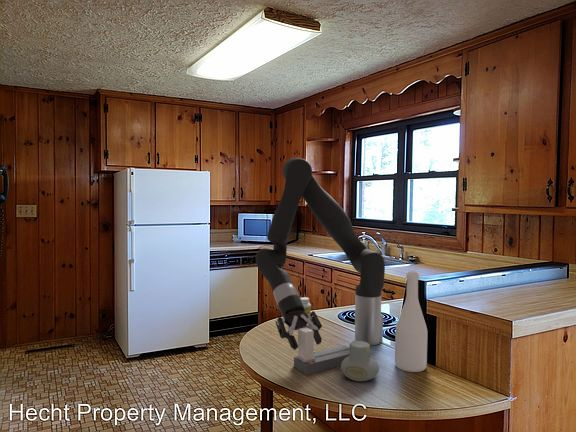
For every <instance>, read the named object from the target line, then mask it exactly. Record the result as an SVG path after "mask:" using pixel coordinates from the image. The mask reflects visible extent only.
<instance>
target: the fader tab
mask: <svg viewBox="0 0 576 432" xmlns="http://www.w3.org/2000/svg"><path fill="white" fill-rule="evenodd" d="M314 342H315V340H314V331H313V330H311V329H309V328H307V327H305V328H300V329H298V330H297V344H298V348H297V354H296V355H295V357H296V358H298V359H299V360H301V361H303V362H304V363H306V362H310V361H314V360H316V358H314V357H313V352H314Z"/></svg>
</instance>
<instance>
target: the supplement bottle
mask: <svg viewBox="0 0 576 432" xmlns="http://www.w3.org/2000/svg"><path fill="white" fill-rule="evenodd" d="M300 299H301V301H302V304H303V306H304V310H305V312H306V313H307V314H309V313H311V312H312V304H311V303H310V297H306V296H305V297H300ZM308 319H309V318H308ZM310 321H311V320H310Z"/></svg>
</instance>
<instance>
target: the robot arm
mask: <svg viewBox="0 0 576 432" xmlns="http://www.w3.org/2000/svg"><path fill="white" fill-rule="evenodd" d="M282 176H283V178H284V179H285V182H284V185H283V186H284V187H283V191H282V196H281V198H280V201H279V203H278V205H277V208H276V209H275V211H274V214H273V216H272V219H271V221H270V225H269V228H268V231H267V235H266V239H267V241H268V242H270V243H271V244H273V247H272V248H273V249H271V248H270V249H269V248H261V249H259V250H258V251H257V252H256V254H255V264H256V266H257V268H258V270H259V272H260V273H261V274H262V275H263V277H264V279H265V280H267V282H268V284H269V286H270V288H271V290H272V291H271V292H272V293H273V296H274V299H275V302H276V305H277V307H278V310H279V311H280V312H279V313H280V314H281V316H279V317H277V319H276V320H275V325H276V328H277V332H278V334H279V337H280V338H281V339H286V340H287V342H288V344H289V346H290V348H291V349H293V351H295V350H298V341H297V339H296V337H295V335H294V331H298V329H300V328H305V327H307V328H309V329H311V330H313V331H314V342H315V343H316V344H315V345H317V346H318V345H320V344H321V343H322V341H323V339H322V336H321V334H320V332H319V331H320V330H321V328H322V327H323V324H322V323H321V321H320V319H319V318H318V315H317V313H316V312H315V311H314V310H313V311H312V310H311V313H309V314H307V313H306V312H305V310H304V306H303V304H302V301H301V299H300V298H301V297H300V295H299V293H298V290H297V289H296V287H295V285H294V284H293V282H292V279H291V277H290V275H289V273H288V272H287V271H286V270H285V269H282V268H283V267H284V265H285V264H286V261H287V251H288V250H287V249H288V247H287V246H288V238H289V235H290V232H291V229H292V225H293V223H294V219H295V217H296V212H297V210H298V206H299V205H300V204H299V203H300V201H301V199H302V198H303V200H304V201H305V202H306V204H307V206H308V208H309V210H310V212H312V214H313V215H314V217H315V218H316V220H317V221H318V222H319V223H320V225H321V226H322V228H323V229H324V230H325V231H326V233H327V234H328V235H330V237H331V238H332V239H333V241H335V243H336V244H337V245H338V246H339V247H340V249H342V251H343V252H344V254H345V255H346V257H347V259H348V260H349V262H350V263H351V265H352V267H353V269H354V270H355V271H356V272H357V273H359V274H360V279H359V284H357V285H356V286H355V290H354V291H355V296H354V297H355V300H354V301H355V302H354V303H355V304H354V305H355V306H354V309H355V310H354V341H364V342H367V343H369V345H370V346H377V345H379V344H381V342H383V337H384V336H383V334H384V329H383V328H384V315H382V290H383V289H384V286H385V270H386V268H385V266H386V264H385V258H384V257H383V255H382V254H381V253H379V252H377V251H374V250H372V249H369V248H368V247H367V246H366V245H365V244H364V243H363V242H362V241H361V239H360V238H359V237H358V236H357V234H356V231H355V229H354V227H353V224H352V221H351V219H350V217H349V215H348V214H347V213H346V212H345V210H344V208H342V206H341V205H340V204H339V203H338V202H337V201H336V200H335V199H334V197H332V196H331V195H330V194H329V193H328V192H327V191H326V190H325V189H323V187H322V186H321V185H320V184H319V183H318V181H317V180H316V178H315V177H314V175H313V169H312V165H311V164H310V162H309V161H308V160H306V159H304V158H300V157H291V158H288V159H287V160H286V161H285V162H284V164H283V166H282ZM308 318H309V319H308ZM310 320H311V321H310ZM285 325H287V326H288V327H287V329H286V326H285Z"/></svg>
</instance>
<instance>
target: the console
mask: <svg viewBox="0 0 576 432" xmlns="http://www.w3.org/2000/svg"><path fill="white" fill-rule="evenodd" d="M348 356H350V346H347V345H345V344H344V345H339V346H335V347H331V348H327V349H322V350H317V351H315V352H314V351H313V357H314V358H316V360H314V361H310V362H306V363H304V362H303V361H301V360H299V359H298V358H296V356H294V357H293V368H295V369H297V370H298V371H300V372H301V373H303V374H305V375H306V376H307V375H310V374H315V373H318V372H323V371H325V370H330V369H334V368H336V367H337V368H338V367H341V363H342V361H343V360H344V359H345V358H346V357H348Z"/></svg>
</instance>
